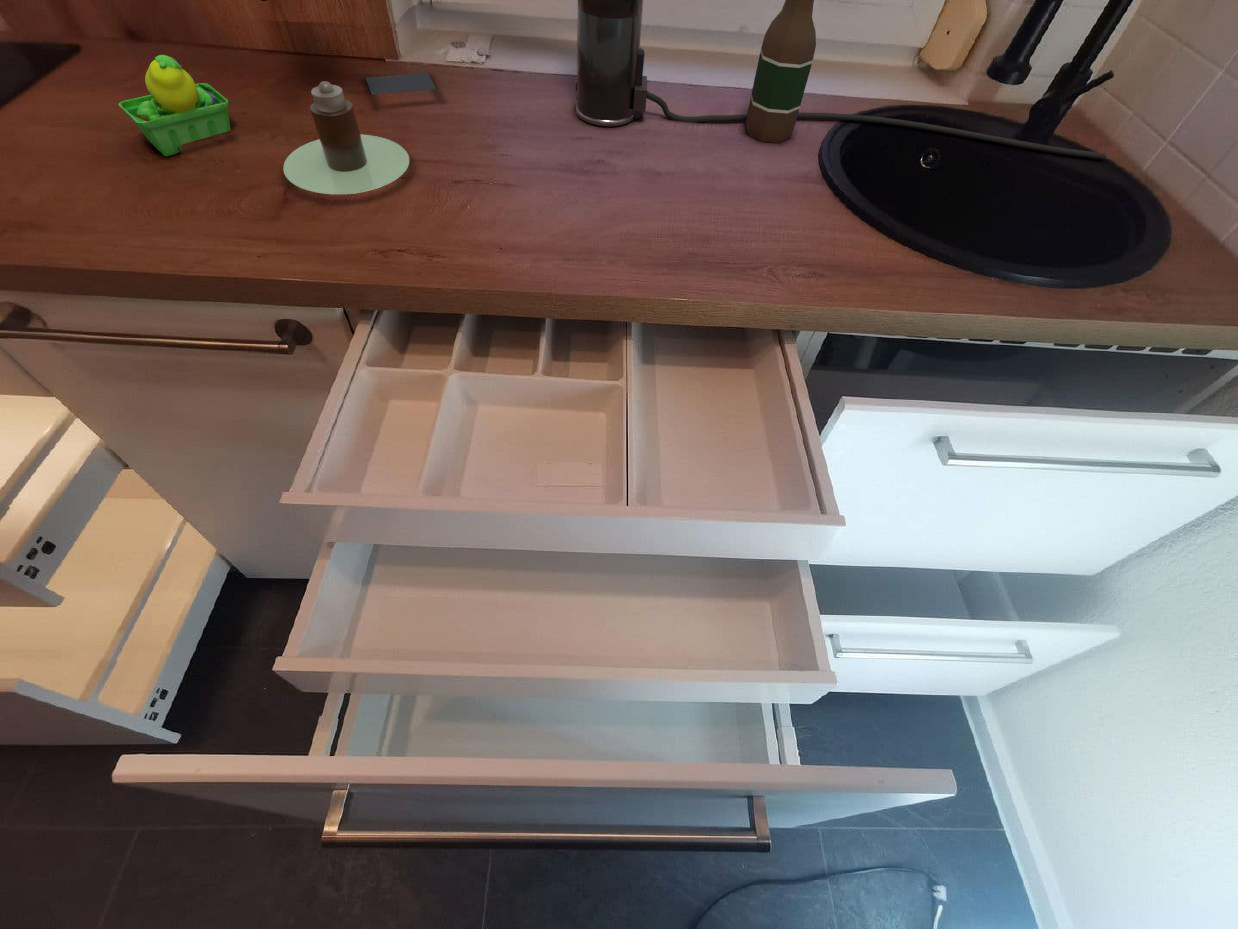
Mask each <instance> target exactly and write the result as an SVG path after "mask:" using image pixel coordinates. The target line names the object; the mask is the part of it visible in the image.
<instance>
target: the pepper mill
mask: <svg viewBox="0 0 1238 929" xmlns="http://www.w3.org/2000/svg"><path fill="white" fill-rule="evenodd" d="M310 94H311V96H312V99H313V102H312V103H311V104H310V107H309V110H310V113H311V117H312V120H313V123H314V126H315V129H316V133H317V135H318V139H320V142H321V145H322V148H323V151H324V155H325V158H326V161H327V164H328V166H329V167H330V168H331V169H333V170H336V171H342V172H348V171H354V170H358V169H360V168H362V167H363V166H365V165H366V163H367V158H366V155H365V151H364V147H363V143H362V139H361V136H360V134H361V133H360V129H359V124H358V121H357V117H356V113H355V110H354V106H353V103H352V102H351V101H349V100H348V99H345V98H346V97H345V94H344V91H343V88H342V87H341V86H339V85H336V84H331V83H330V82H329V81H327V80H323V81H321V82H320V83H319V84H318V85H317V86H315V87H313V88H312V89H311V91H310Z"/></svg>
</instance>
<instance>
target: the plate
mask: <svg viewBox="0 0 1238 929" xmlns="http://www.w3.org/2000/svg"><path fill="white" fill-rule="evenodd" d="M360 136H361V139H362V143H363V147H364V151H365V155H366V158H367V163H366V165H365V166H363V167H362V168H360V169H358V170H354V171H348V172H342V171H336V170H333V169H331V168H330V167H329V166H328V164H327V161H326V158H325V155H324V151H323V148H322V145H321V142H320V139H319V138H318V139H316V140H312V141H310V142H308V143H305V144H303V145H301V146H299V147H298V148H296V149H295V150H293V151H291V153H290V154H289V155H288V156H287V157H286V159H285V161H284V162H283V166H282V167H283V168H282V171H283V175H284V176H285V179H287V180H288V181H289V182H290V183H291V184H293V185H294V186H296V187H298V188H300V189H303V190H305V191H310V192H312V193H316V194H317V193H318V194H324V195H353V194H360V193H365V192H369V191H374V190H377V189H379V188H382V187H385V186H387V185H389V184H391V183H393V182H394V181H396V180H398V179H399V178H400V177H402V176H403V174H405V172H406V171H407V170H408V168H409V165H410V155H409V153H408V151H407V150H406V149H405V148H404V147H403V146H402V145H401V144H399V143H397V142H396V141H393V140H391V139H388V138H386V137H381V136H376V135H372V134H371V135H370V134H362V133H360Z"/></svg>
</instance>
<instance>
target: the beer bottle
mask: <svg viewBox="0 0 1238 929" xmlns="http://www.w3.org/2000/svg"><path fill="white" fill-rule="evenodd" d="M814 4H815V0H785V1H784V2H783V5H782V8H781V10H780V11H779V13H778V14H777V15H776V16H775V17H774V19H772V21H771V23H770V24H769V26H768V27H767V30H766V31H765V34H764V36H763V41H762V44H761V47H760V51H759V58H758V61H757V65H756V70H755V74H754V78H753V79H754V80H753V85H752V90H751V94H750V98H749V102H748V107H747V113H746V114H747V118H746V120H745V130H746V134H747V136H749V137H750V138H753V139H755V140H756V141H759V142H763V143H773V144H780V143H783V142H784V141H787V140H788V139H790V138H791V137H792V135H793V133H794V129H795V126H796V122H797V120H798V119H797V116H798V112H800V109H801V105H802V100H803V97H804V94H805V90H806V86H807V83H808V80H809V76H810V72H811V69H812V65H813V62H814V57H815V53H816V47H817V31H816V28H815V23H814V20H813V12H814Z"/></svg>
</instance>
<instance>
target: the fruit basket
mask: <svg viewBox="0 0 1238 929" xmlns="http://www.w3.org/2000/svg"><path fill="white" fill-rule="evenodd" d="M144 84H145V87H146V89H147V91H148V93H149V94H148V95H144V96H139V97H135V98H129V99H125V100H122V101H120V102H119V103H118V107H120V109H121V110H122V111H123V112H124V114H125V115H127V116H128V117H129V118H130V119H131V120H132V122H133V123H134V125H135V126H136V127H137V128H138V129H139V131H140V132H141V133H142V134H143V135H144V137H145V138H146V139H147V140H148V142H150V144H151V145H153V146H154V147H155V149H156V150H158V152H160V153H161V154H162V155H163V157H170V156H173V155H177V154H180V153H182V145H185V144H189V143H192V142H195V141H198V140H203V139H207V138H211V137H213V136H216V135H222V134H225V133H228V132H231V131H232V130H231V121H230V114H229V100H228V99H227V98H226V97H225V96H224V95H223V94H221V93H220V92H219V91H218V90H216V89H215V88H214V87H213V86H212V85H210V84H209V83H207V82H201V83H196V82H195V80H194V79H193V77H192V76H191V75H190V73H189V72H187V71H186V70H185V69H183V68H182V64H180V63H178V61H177V60H176V59H175V58H173V57H172V56H168V55H167V54H159V55H157V56H155V57H154V60H152V61H151V63H150V64H149V67H148V69H147V71H146V73H145V77H144Z"/></svg>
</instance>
